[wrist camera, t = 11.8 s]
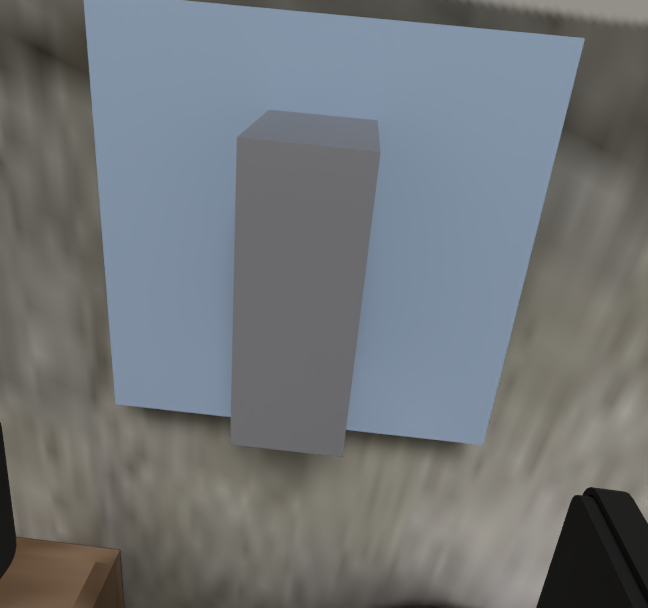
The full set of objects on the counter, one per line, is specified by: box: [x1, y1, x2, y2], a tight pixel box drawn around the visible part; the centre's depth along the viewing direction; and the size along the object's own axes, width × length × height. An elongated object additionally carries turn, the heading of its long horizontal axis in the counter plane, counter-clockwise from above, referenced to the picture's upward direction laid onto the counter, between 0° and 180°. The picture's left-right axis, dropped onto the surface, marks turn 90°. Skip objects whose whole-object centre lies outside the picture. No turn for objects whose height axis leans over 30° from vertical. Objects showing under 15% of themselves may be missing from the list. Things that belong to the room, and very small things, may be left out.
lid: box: [84, 0, 585, 457], centre depth 17 cm, size 13×13×7 cm
